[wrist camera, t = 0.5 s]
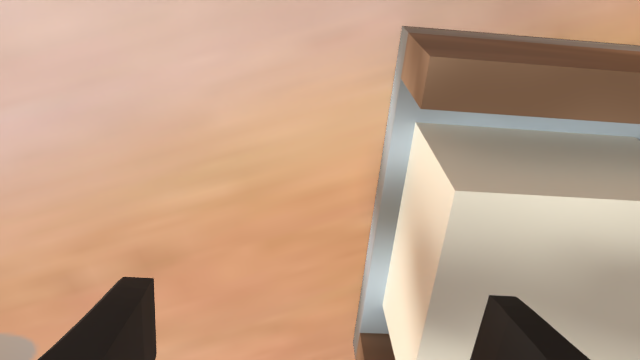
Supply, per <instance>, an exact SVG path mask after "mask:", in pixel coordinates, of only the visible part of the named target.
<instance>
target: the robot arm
mask: <svg viewBox="0 0 640 360" xmlns="http://www.w3.org/2000/svg"><path fill="white" fill-rule="evenodd" d="M155 358H156V329H155V303H154V278H135V277H123V278H122V279H120V280H119V281H118V282H117V283H116V284H115V285H114V286H113V287H112V288H111V289H110V290H109V291H108V292H107V293H106V294H105V295H104V296H103V298H102V299H101V300H100V301H99V302H98V303H97V304H96V305H95V306H94V307H93V308H92V309H91V310H90V311H89V312H88V313H87V314H86V315H85V316H84V317H83V318H82V319H81V320H80V321H79V322H78V323H77V324H76V325H75V326H74V327H73V328H72V329H70V330H69V331H68V332H67V333H66V334H65V335H64V336H63V337H62V338H61V339H60V340H59V341H58V342H57V343H56V344H55V345H54V346H53V347H51V348H50V349H49V350H48V351H47V352H46V353H45V354H44V355H42V356H41V357H40V358H39V359H38V360H155ZM470 360H590V359H589V358H588V357H587V356H585V355H584V354H583V353H582V352H581V351H580V350H578V349H577V348H576V347H575V346H574V345H573V344H571V343H570V342H569V341H568V340H567V339H566V338H565V337H563V336H562V335H561V334H560V333H559V332H558V331H556V330H555V329H554V328H553V327H552V326H551V325H550V324H548V323H547V322H546V321H545V320H544V319H543V318H542V317H540V316H539V315H538V314H537V313H536V312H535V311H533V310H532V309H531V308H530V307H529V306H527V305H526V304H525V303H524V302H522V301H521V300H520V299H519V298H517V297H516V296H497V295H489V297H488V301H487V304H486V308H485V311H484V314H483V318H482V321H481V324H480V328H479V331H478V334H477V338H476V341H475V345H474V348H473V351H472V355H471V358H470Z"/></svg>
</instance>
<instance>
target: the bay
mask: <svg viewBox="0 0 640 360" xmlns="http://www.w3.org/2000/svg"><path fill="white" fill-rule="evenodd" d="M415 122H418V123H433V124H448V125H463V126H478V127H493V128H508V129H523V130H538V131H552V132H567V133H582V134H597V135H612V136H627V137H635V138H637V139H638V140H640V46H636V45H624V44H612V43H600V42H588V41H576V40H564V39H552V38H540V37H528V36H516V35H504V34H492V33H480V32H468V31H456V30H444V29H432V28H420V27H408V26H402V31H401V38H400V44H399V51H398V57H397V64H396V70H395V76H394V83H393V89H392V96H391V102H390V109H389V115H388V121H387V128H386V134H385V141H384V147H383V153H382V160H381V166H380V173H379V179H378V186H377V192H376V198H375V205H374V211H373V218H372V224H371V231H370V237H369V243H368V250H367V256H366V263H365V269H364V276H363V282H362V288H361V295H360V301H359V308H358V314H357V320H356V327H355V333H354V340H353V346H354V352H355V359H356V360H395V356H394V352H393V348H392V344H391V339H390V335H389V331H388V327H387V322H386V318H385V314H384V310H383V306H382V305H383V299H384V294H385V288H386V283H387V277H388V272H389V266H390V261H391V255H392V250H393V244H394V238H395V233H396V227H397V222H398V216H399V211H400V205H401V200H402V194H403V188H404V183H405V177H406V172H407V166H408V161H409V155H410V150H411V144H412V138H413V133H414V127H415Z"/></svg>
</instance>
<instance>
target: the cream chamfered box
mask: <svg viewBox="0 0 640 360" xmlns="http://www.w3.org/2000/svg"><path fill="white" fill-rule="evenodd" d="M489 295H497V296H516V297H517V298H519V299H520V300H521V301H522V302H524V303H525V304H526V305H527V306H529V307H530V308H531V309H532V310H533V311H535V312H536V313H537V314H538V315H539V316H540V317H542V318H543V319H544V320H545V321H546V322H547V323H548V324H550V325H551V326H552V327H553V328H554V329H555V330H556V331H558V332H559V333H560V334H561V335H562V336H563V337H565V338H566V339H567V340H568V341H569V342H570V343H571V344H573V345H574V346H575V347H576V348H577V349H578V350H580V351H581V352H582V353H583V354H584V355H585V356H587V357H588V358H589V359H590V360H640V140H638V139H637V138H635V137H627V136H612V135H597V134H582V133H567V132H552V131H538V130H523V129H508V128H493V127H478V126H463V125H448V124H433V123H418V122H415V127H414V133H413V138H412V144H411V150H410V155H409V161H408V166H407V172H406V177H405V183H404V188H403V194H402V200H401V205H400V211H399V216H398V222H397V227H396V233H395V238H394V244H393V250H392V255H391V261H390V266H389V272H388V277H387V283H386V288H385V294H384V299H383V305H382V306H383V310H384V314H385V318H386V322H387V327H388V331H389V335H390V339H391V344H392V348H393V352H394V356H395V360H470V358H471V355H472V351H473V348H474V345H475V341H476V338H477V334H478V331H479V328H480V324H481V321H482V318H483V314H484V311H485V308H486V304H487V301H488V297H489Z"/></svg>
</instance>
